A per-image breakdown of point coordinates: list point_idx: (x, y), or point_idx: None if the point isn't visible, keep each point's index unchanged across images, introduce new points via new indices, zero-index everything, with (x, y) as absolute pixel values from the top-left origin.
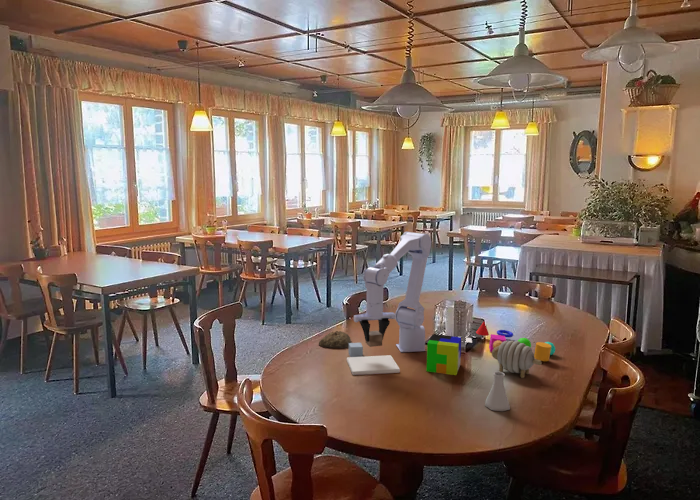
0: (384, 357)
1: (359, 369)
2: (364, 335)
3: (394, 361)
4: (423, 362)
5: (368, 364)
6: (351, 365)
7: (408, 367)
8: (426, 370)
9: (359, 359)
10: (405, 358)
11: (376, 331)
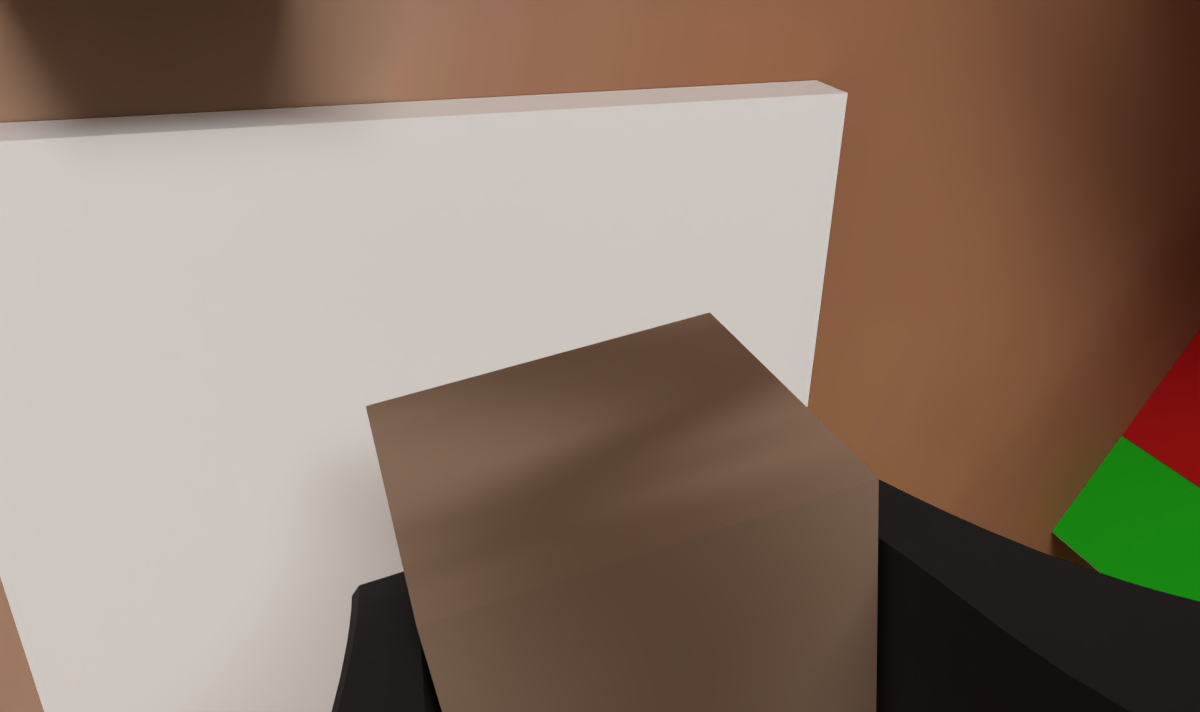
0: (705, 201)
1: (189, 703)
2: (342, 678)
3: (805, 379)
4: (1164, 271)
5: (363, 508)
6: (29, 573)
7: (919, 436)
8: (1059, 538)
9: (198, 286)
10: (1027, 99)
11: (806, 563)
